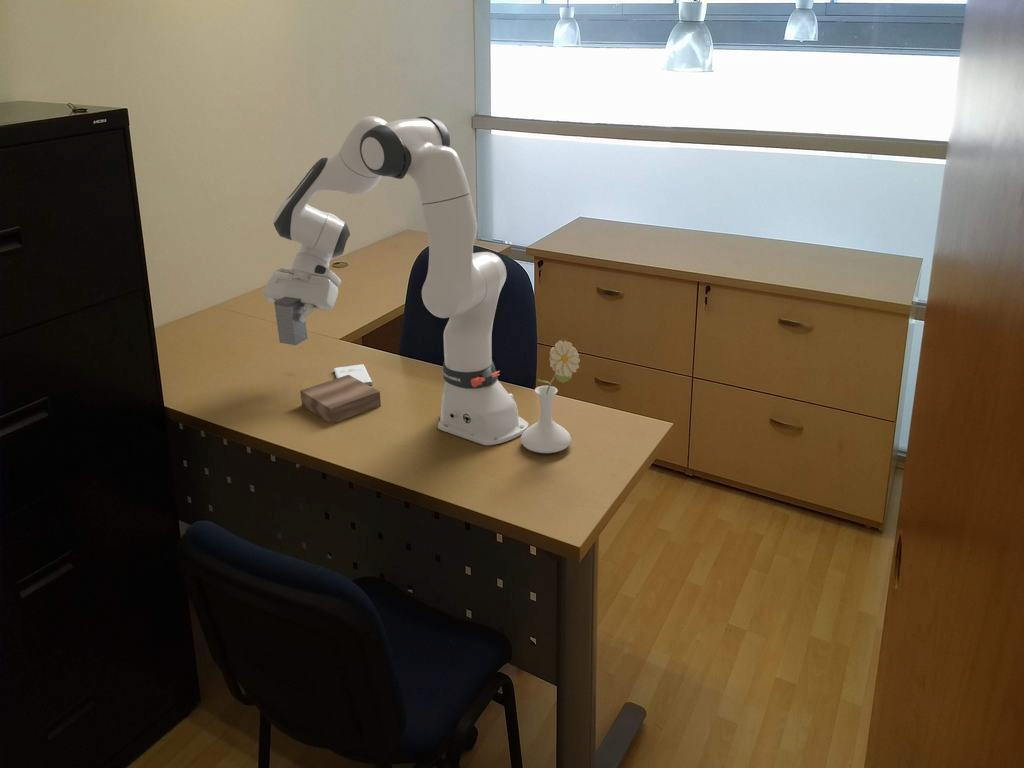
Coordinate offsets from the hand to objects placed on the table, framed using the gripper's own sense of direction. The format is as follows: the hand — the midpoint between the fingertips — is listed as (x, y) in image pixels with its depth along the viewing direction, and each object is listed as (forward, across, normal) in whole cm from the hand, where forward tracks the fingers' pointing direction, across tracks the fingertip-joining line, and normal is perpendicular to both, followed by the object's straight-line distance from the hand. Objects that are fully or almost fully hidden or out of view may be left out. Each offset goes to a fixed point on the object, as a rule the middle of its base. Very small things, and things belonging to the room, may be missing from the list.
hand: (289, 319), depth 218 cm
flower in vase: (+16, +73, +10) cm, 75 cm away
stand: (+17, +18, +8) cm, 26 cm away
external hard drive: (+7, +11, +20) cm, 24 cm away
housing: (+4, 0, +5) cm, 6 cm away
